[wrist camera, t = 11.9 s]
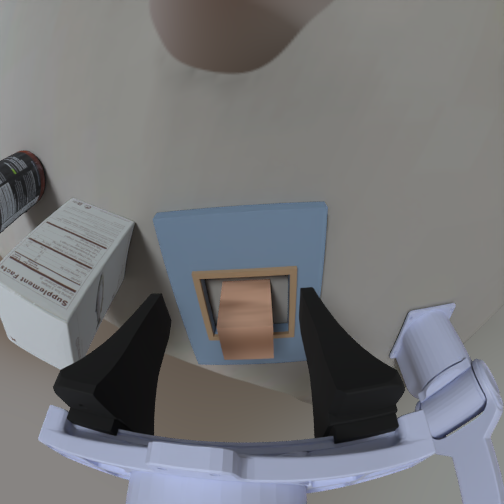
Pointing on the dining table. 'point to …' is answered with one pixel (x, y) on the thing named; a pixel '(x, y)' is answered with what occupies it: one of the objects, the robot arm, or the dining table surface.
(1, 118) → the dining table surface
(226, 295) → the block
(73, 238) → the supplement box
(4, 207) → the supplement bottle
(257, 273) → the blue board with hole
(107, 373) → the robot arm
